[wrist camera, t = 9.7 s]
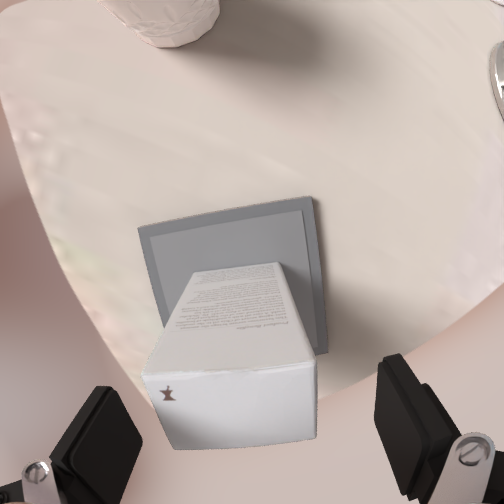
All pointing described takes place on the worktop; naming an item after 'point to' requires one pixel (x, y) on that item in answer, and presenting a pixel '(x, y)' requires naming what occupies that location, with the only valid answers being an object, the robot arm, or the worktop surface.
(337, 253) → the worktop surface
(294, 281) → the tray
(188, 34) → the white cup
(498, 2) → the panda figurine
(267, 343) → the skincare box
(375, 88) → the worktop surface
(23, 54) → the worktop surface
